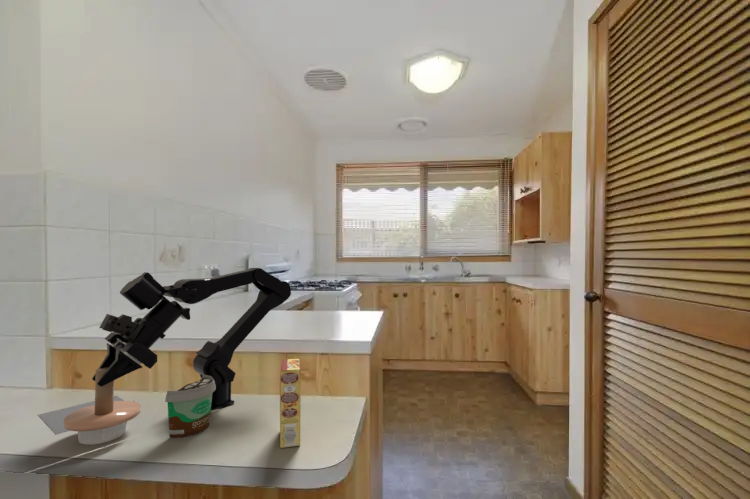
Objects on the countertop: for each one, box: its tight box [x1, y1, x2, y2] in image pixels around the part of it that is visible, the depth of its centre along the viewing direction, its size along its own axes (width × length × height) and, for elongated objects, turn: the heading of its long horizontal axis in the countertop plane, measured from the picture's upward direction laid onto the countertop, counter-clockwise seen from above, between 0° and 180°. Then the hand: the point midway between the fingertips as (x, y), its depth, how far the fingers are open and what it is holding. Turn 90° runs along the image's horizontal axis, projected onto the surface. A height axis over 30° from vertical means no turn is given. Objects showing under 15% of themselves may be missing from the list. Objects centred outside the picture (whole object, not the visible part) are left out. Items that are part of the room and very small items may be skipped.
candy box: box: [279, 358, 302, 449], centre depth 78 cm, size 9×4×15 cm, turn 13°
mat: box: [37, 395, 125, 435], centre depth 89 cm, size 16×16×1 cm
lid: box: [64, 367, 141, 432], centre depth 78 cm, size 13×13×10 cm
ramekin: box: [77, 421, 128, 445], centre depth 78 cm, size 9×9×4 cm
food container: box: [165, 375, 216, 439], centre depth 82 cm, size 12×6×10 cm, turn 168°
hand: (96, 382), depth 77 cm, fingers open, 4 cm apart
